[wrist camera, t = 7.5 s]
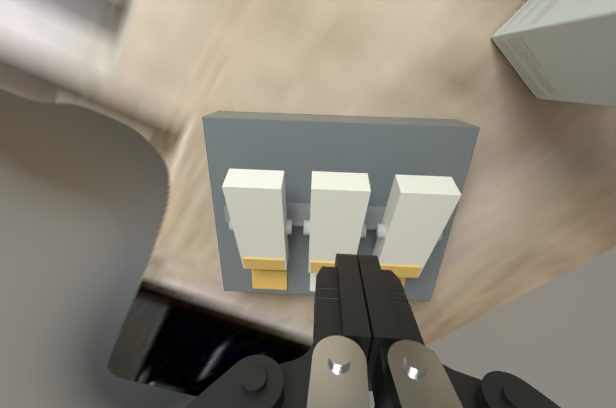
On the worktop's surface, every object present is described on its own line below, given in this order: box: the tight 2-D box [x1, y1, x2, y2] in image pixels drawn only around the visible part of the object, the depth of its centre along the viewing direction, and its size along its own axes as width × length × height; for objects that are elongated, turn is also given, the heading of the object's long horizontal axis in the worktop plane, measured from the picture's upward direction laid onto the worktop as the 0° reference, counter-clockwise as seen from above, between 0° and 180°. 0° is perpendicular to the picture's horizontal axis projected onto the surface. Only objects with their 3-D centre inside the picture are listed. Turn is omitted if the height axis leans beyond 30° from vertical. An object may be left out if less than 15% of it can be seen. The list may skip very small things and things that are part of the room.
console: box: [202, 111, 480, 301], centre depth 27 cm, size 18×22×5 cm
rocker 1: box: [222, 168, 292, 270], centre depth 23 cm, size 10×5×2 cm, turn 178°
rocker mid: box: [303, 171, 371, 273], centre depth 23 cm, size 10×5×2 cm, turn 178°
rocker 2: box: [372, 174, 461, 278], centre depth 23 cm, size 10×5×2 cm, turn 178°
